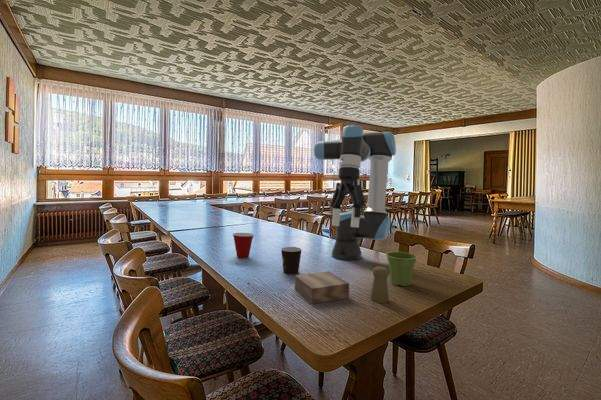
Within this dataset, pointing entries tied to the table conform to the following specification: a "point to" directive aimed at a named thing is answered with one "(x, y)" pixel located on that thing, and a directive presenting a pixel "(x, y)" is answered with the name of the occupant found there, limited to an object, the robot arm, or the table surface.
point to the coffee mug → (291, 259)
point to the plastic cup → (243, 244)
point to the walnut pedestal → (321, 287)
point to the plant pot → (401, 267)
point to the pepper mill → (380, 285)
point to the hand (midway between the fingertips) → (344, 226)
